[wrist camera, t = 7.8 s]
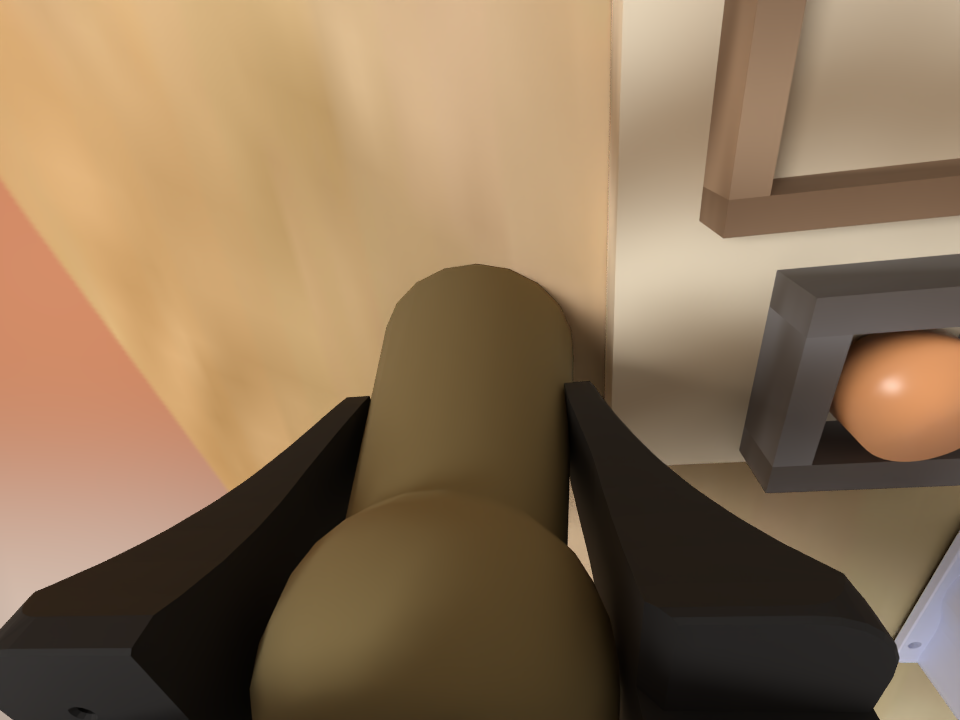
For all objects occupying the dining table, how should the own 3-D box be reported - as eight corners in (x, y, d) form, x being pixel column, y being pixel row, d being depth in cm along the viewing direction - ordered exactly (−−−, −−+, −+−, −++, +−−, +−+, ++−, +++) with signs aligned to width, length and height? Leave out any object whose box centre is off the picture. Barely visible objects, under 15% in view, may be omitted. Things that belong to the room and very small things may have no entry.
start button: (932, 421, 13) (979, 458, 12) (809, 427, 13) (841, 464, 12) (981, 317, 11) (1041, 347, 10) (839, 328, 12) (880, 357, 10)
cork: (352, 370, 16) (104, 817, 6) (451, 221, 13) (282, 608, 3) (498, 454, 17) (482, 916, 8) (614, 338, 14) (814, 829, 5)
